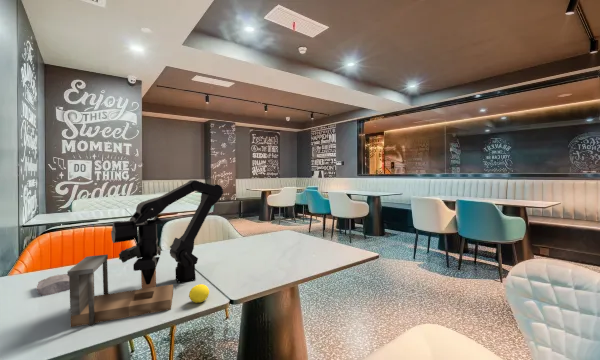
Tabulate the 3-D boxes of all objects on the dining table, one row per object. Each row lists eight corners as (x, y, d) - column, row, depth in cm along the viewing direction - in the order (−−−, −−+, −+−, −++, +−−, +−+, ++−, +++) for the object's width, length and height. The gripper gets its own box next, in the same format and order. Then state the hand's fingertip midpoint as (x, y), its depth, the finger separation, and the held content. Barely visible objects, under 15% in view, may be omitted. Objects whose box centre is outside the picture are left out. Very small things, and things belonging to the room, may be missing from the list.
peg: (156, 284, 98) (155, 259, 98) (154, 288, 95) (154, 263, 94) (143, 286, 97) (142, 261, 97) (141, 290, 93) (141, 264, 93)
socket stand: (173, 291, 93) (172, 247, 93) (170, 311, 80) (169, 259, 80) (88, 305, 84) (86, 256, 84) (68, 329, 71) (67, 271, 71)
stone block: (41, 303, 91) (78, 287, 98) (36, 289, 90) (74, 275, 97) (38, 294, 99) (72, 280, 106) (33, 281, 98) (69, 268, 105)
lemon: (202, 297, 90) (204, 280, 91) (212, 301, 87) (214, 284, 87) (183, 302, 84) (184, 285, 85) (193, 307, 81) (195, 289, 82)
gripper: (126, 234, 101) (127, 276, 101) (113, 246, 84) (115, 297, 84) (160, 231, 105) (161, 271, 106) (154, 242, 88) (155, 290, 88)
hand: (149, 281), depth 96 cm, fingers closed on peg, 4 cm apart
